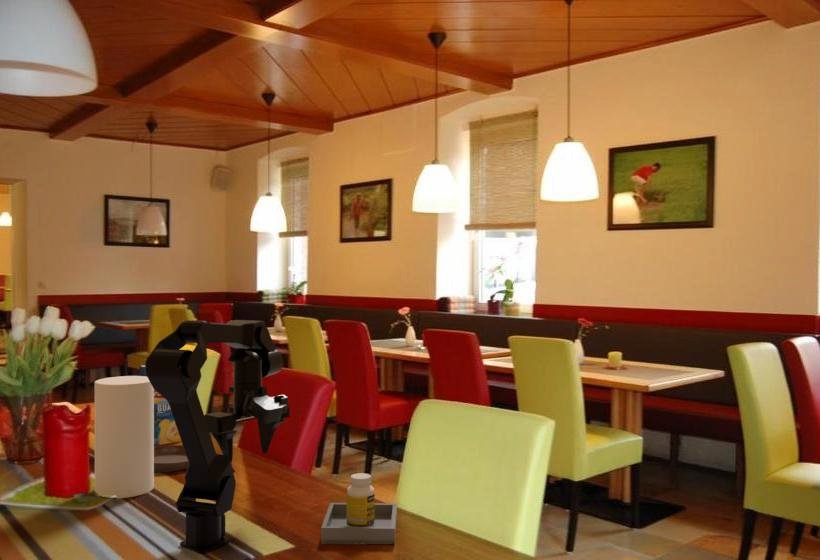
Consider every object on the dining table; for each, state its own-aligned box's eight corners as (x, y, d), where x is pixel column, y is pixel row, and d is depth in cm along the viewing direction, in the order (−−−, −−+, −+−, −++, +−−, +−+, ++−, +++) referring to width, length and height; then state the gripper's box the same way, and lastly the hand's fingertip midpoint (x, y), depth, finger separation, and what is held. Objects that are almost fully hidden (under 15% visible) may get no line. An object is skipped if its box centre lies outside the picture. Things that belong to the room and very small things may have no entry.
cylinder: (147, 497, 155) (147, 384, 154) (87, 499, 153) (87, 385, 153) (159, 480, 167) (158, 375, 167) (103, 482, 166) (103, 376, 165)
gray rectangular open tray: (394, 544, 130) (394, 528, 130) (321, 543, 130) (321, 527, 130) (396, 518, 143) (396, 503, 143) (330, 517, 144) (330, 502, 144)
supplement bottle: (370, 532, 134) (370, 480, 133) (343, 530, 135) (343, 479, 134) (377, 522, 139) (377, 472, 139) (350, 520, 140) (350, 471, 140)
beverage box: (139, 442, 202) (139, 365, 202) (175, 436, 210) (175, 362, 209) (149, 446, 197) (149, 368, 197) (186, 440, 205) (186, 364, 204)
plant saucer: (203, 453, 193) (203, 441, 192) (209, 470, 176) (209, 458, 176) (133, 459, 186) (133, 447, 186) (133, 478, 170) (133, 465, 170)
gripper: (237, 392, 131) (236, 476, 131) (308, 380, 146) (308, 455, 146) (199, 386, 138) (199, 465, 138) (272, 374, 153) (271, 446, 153)
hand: (247, 457), depth 144 cm, fingers open, 9 cm apart
